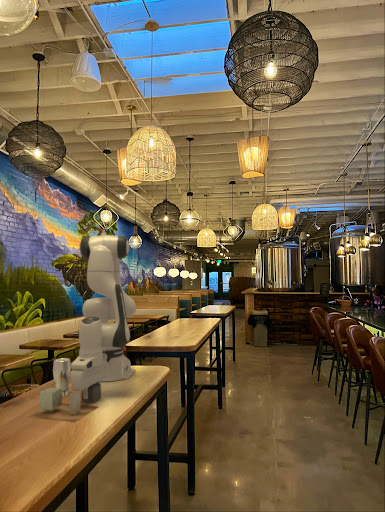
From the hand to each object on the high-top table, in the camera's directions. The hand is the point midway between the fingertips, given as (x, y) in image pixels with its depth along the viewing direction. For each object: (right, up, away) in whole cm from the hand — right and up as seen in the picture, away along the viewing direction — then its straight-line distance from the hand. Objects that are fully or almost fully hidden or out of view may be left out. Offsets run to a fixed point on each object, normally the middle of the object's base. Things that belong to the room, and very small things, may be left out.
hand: (91, 395), depth 142 cm
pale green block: (-11, -2, -11) cm, 16 cm away
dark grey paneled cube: (0, -2, 0) cm, 2 cm away
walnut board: (-6, -2, -12) cm, 13 cm away
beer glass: (-15, -4, +9) cm, 17 cm away
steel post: (-2, -1, -14) cm, 14 cm away
